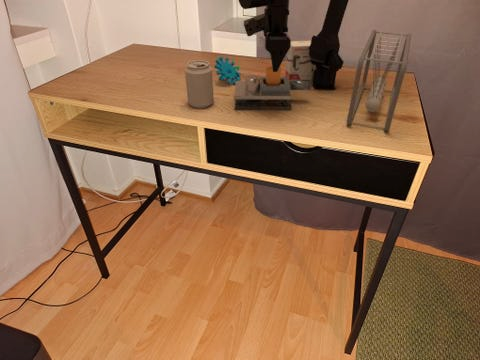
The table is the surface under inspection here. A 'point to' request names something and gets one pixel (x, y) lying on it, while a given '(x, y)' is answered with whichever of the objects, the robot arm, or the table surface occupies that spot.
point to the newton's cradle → (379, 78)
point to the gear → (227, 70)
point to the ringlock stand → (266, 93)
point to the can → (199, 83)
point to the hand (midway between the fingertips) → (274, 65)
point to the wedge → (273, 75)
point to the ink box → (299, 61)
